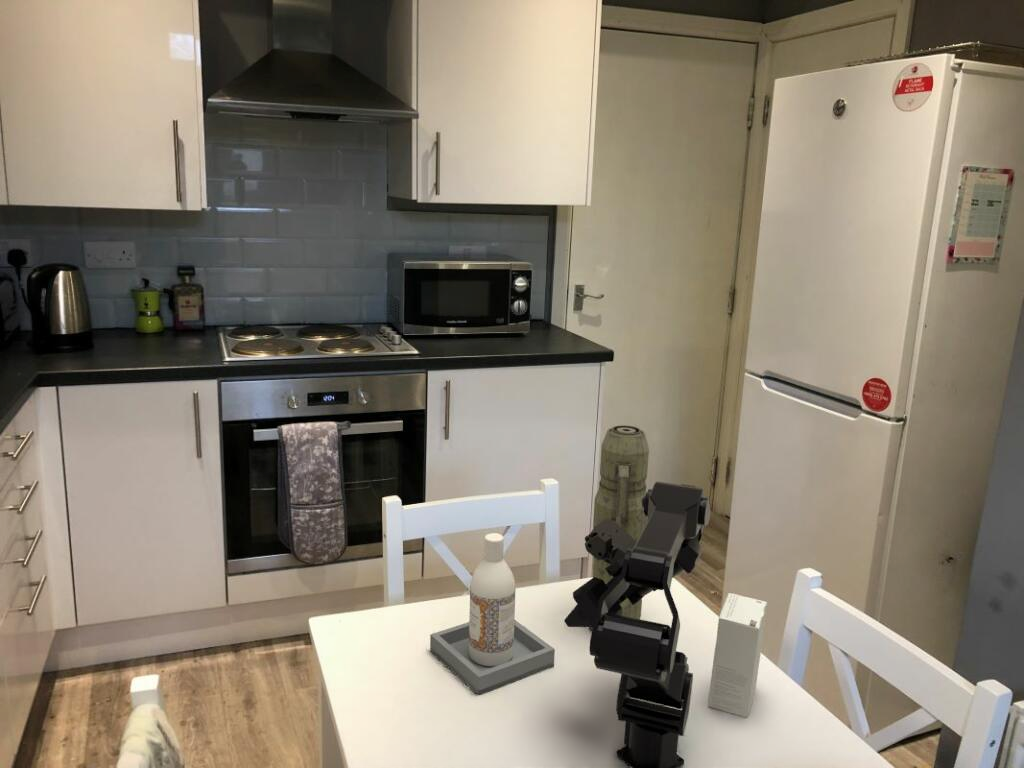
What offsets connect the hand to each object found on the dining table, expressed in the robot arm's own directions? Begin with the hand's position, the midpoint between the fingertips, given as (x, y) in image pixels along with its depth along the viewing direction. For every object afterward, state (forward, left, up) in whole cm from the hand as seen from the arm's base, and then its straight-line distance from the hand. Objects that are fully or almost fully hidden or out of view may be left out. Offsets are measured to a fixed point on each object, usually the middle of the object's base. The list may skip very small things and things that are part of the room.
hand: (582, 610), depth 120 cm
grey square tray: (+15, +6, -14) cm, 21 cm away
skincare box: (-13, -18, -14) cm, 27 cm away
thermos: (+12, -17, -14) cm, 25 cm away
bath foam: (+14, +6, -13) cm, 20 cm away
